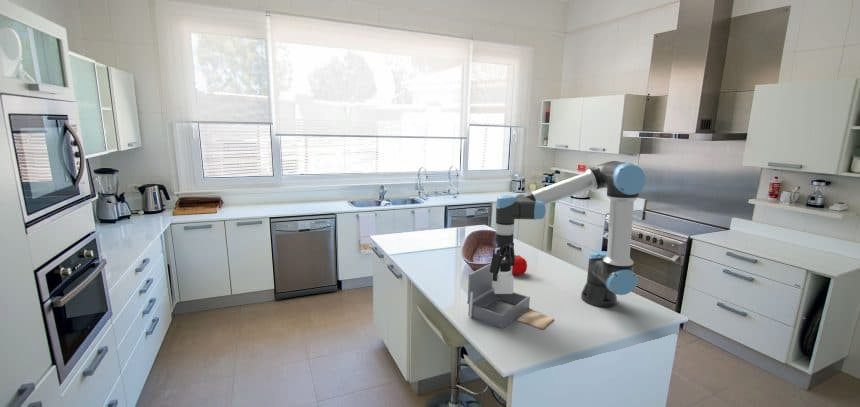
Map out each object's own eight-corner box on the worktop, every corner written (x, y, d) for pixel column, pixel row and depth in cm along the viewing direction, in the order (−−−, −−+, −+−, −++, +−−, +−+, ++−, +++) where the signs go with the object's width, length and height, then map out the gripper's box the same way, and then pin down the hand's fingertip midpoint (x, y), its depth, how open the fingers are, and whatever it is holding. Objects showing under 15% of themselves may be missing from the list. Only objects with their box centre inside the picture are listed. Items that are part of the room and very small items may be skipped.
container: (508, 286, 169) (510, 258, 167) (513, 294, 162) (514, 264, 159) (491, 286, 169) (492, 258, 167) (494, 294, 161) (495, 264, 159)
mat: (553, 319, 161) (553, 318, 161) (542, 329, 153) (543, 328, 153) (528, 311, 168) (528, 310, 168) (517, 320, 159) (517, 319, 159)
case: (529, 307, 172) (532, 268, 168) (501, 329, 152) (504, 285, 149) (495, 296, 182) (497, 259, 178) (465, 315, 163) (467, 274, 159)
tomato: (522, 279, 204) (524, 260, 202) (499, 273, 211) (501, 255, 209) (529, 272, 214) (530, 254, 212) (507, 267, 220) (508, 250, 218)
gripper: (509, 226, 172) (507, 273, 176) (481, 237, 154) (480, 290, 158) (525, 229, 167) (522, 277, 171) (498, 240, 149) (496, 294, 154)
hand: (502, 283), depth 165 cm, fingers closed on container, 10 cm apart
